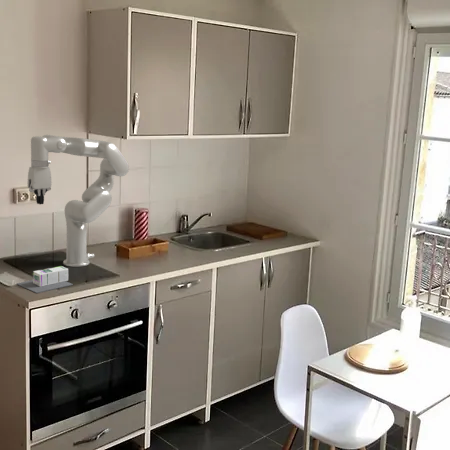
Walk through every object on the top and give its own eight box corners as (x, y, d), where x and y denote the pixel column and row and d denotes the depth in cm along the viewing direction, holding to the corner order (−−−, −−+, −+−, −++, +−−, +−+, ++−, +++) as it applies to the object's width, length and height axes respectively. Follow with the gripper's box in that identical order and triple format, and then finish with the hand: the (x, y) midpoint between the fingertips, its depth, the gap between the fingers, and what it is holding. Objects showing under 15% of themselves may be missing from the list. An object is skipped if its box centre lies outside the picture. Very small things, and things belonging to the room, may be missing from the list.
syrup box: (68, 268, 277) (39, 273, 267) (68, 281, 278) (39, 287, 268) (61, 265, 281) (32, 270, 270) (61, 278, 282) (32, 283, 271)
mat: (52, 276, 284) (52, 275, 284) (72, 285, 274) (72, 284, 274) (16, 284, 271) (16, 283, 271) (36, 293, 261) (36, 292, 261)
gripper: (49, 162, 289) (49, 201, 293) (20, 163, 278) (21, 204, 282) (58, 164, 285) (58, 203, 288) (29, 165, 273) (30, 206, 277)
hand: (40, 203), depth 285 cm, fingers closed
